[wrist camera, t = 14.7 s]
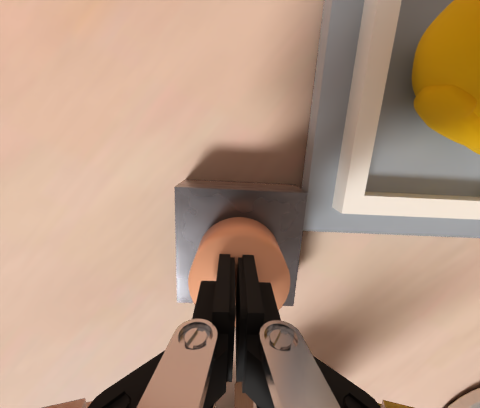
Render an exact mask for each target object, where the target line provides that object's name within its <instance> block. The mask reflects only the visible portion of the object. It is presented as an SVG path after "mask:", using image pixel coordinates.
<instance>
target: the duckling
mask: <svg viewBox="0 0 480 408" xmlns="http://www.w3.org/2000/svg"><path fill="white" fill-rule="evenodd" d="M412 87H413V91H414V94H415V96H416V97H415V99H414V108H415V110H416V112H417V114H418V115H419V116H420V117H421V119H422V120H423V121H424V122H425V124H426V125H427V126H428V127H430V128H431V129H432V130H434V131H436V132H437V133H439V134H441V135H443V136H444V137H446V138H448V139H450V140H452V141H454V142H456V143H459V144H461V145H464V146H466V147H467V148H469V149H470V150H472V151H473V152H475V153H477V154H479V155H480V0H454V1H452V2H451V3H450V4H449V5H448V6H447V7H446V8H445V9H444V10H443V11H442V12H441V13H440V14H439V15H438V16H437V17H436V19H435V20H434V21H433V22H432V23H431V24H430V26H429V27H428V28H427V29H426V31H425V32H424V34H423V36H422V37H421V39H420V41H419V43H418V46H417V49H416V52H415V57H414V62H413V68H412Z"/></svg>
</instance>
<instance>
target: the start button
mask: <svg viewBox="0 0 480 408" xmlns="http://www.w3.org/2000/svg"><path fill="white" fill-rule="evenodd" d="M219 254H230V257H235V305H236V287H237V269H238V257H241V258H242V255H254V259H255V264H256V270H257V275H258V281H259V282H270V283H271V286H272V289H273V293H274V297H275V301H276V304H277V308H278V310H279V309H280V308H281V307H282V305H283V304H284V303H285V301H286V299H287V296H288V293H289V290H290V273H289V269H288V267H287V264H286V262H285V259H284V257H283V255H282V253H281V250H280V248H279V246H278V243H277V241H276V239H275V237H274V235H273V234H272V232H271V231H270V230H269V229H268V228H267V227H266V226H265V225H263V224H262V223H260V222H258V221H256V220H253V219H250V218H245V217H233V218H228V219H224V220H222V221H219V222H218V223H216V224H214V225H213V226H212V227H210V228H209V229H208V230H207V232H206V233H205V234H204V236H203V237H202V239H201V242H200V244H199V247H198V250H197V252H196V255H195V258H194V261H193V264H192V266H191V269H190V273H189V278H188V287H189V292H190V296H191V298H192V301H193V302H194V304H195V305H196V301H197V296H198V292H199V288H200V283H201V281H216V278H217V270H218V262H219ZM235 327H236V323H235Z"/></svg>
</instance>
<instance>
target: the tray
mask: <svg viewBox="0 0 480 408" xmlns="http://www.w3.org/2000/svg"><path fill="white" fill-rule="evenodd" d="M452 1H454V0H324V5H323V13H322V21H321V30H320V38H319V46H318V55H317V63H316V71H315V80H314V88H313V96H312V105H311V113H310V121H309V129H308V138H307V146H306V154H305V163H304V171H303V179H302V188H301V189H302V190H304V191H305V192H307V193H308V194H307V202H306V210H305V218H304V226H303V231H320V232H344V233H369V234H393V235H417V236H441V237H466V238H480V155H479V154H477V153H475V152H473V151H472V150H470V149H469V148H467V147H466V146H464V145H461V144H459V143H456V142H454V141H452V140H450V139H448V138H446V137H444V136H443V135H441V134H439V133H437V132H436V131H434V130H432V129H431V128H430V127H428V126H427V125H426V124H425V122H424V121H423V120H422V119H421V117H420V116H419V115H418V114H417V112H416V110H415V108H414V99H415V97H416V96H415V94H414V91H413V87H412V68H413V62H414V57H415V52H416V49H417V46H418V43H419V41H420V39H421V37H422V36H423V34H424V32H425V31H426V29H427V28H428V27H429V26H430V24H431V23H432V22H433V21H434V20H435V19H436V17H437V16H438V15H439V14H440V13H441V12H442V11H443V10H444V9H445V8H446V7H447V6H448V5H449V4H450V3H451V2H452Z"/></svg>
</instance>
